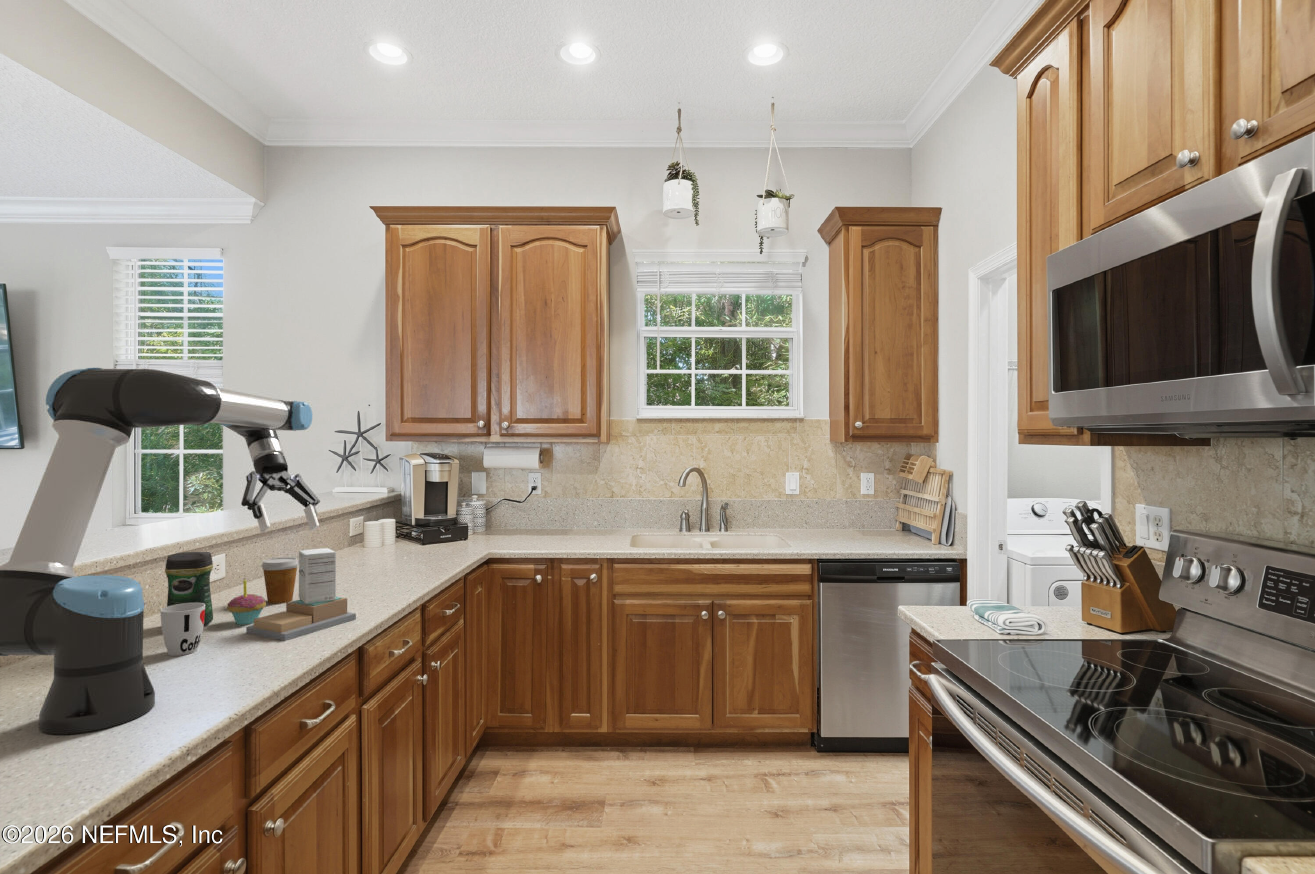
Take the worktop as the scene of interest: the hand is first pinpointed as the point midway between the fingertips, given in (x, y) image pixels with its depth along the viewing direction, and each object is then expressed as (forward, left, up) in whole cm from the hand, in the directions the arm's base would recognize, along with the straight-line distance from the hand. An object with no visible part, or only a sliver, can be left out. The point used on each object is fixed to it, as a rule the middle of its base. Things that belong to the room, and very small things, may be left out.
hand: (291, 528), depth 167 cm
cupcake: (-4, +11, -25) cm, 27 cm away
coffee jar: (-12, +21, -25) cm, 35 cm away
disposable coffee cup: (+14, +23, -25) cm, 36 cm away
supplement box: (+4, -5, -19) cm, 20 cm away
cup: (-25, +1, -25) cm, 35 cm away
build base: (0, -5, -24) cm, 25 cm away
